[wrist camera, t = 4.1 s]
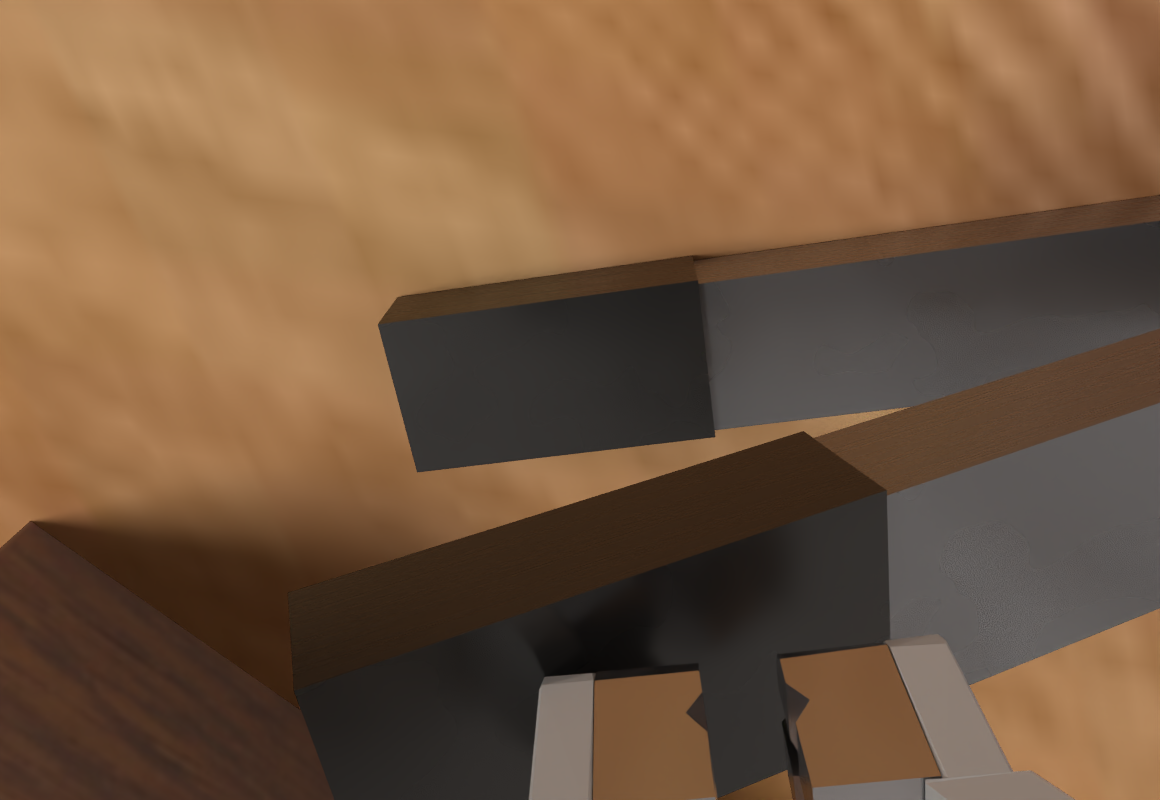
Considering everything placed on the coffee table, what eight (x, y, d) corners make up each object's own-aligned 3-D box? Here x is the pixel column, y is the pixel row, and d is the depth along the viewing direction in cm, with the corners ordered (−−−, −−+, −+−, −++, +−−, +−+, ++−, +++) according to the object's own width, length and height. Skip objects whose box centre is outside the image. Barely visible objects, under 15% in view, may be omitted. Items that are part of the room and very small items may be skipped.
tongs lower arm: (1988, 73, 16) (2148, 85, 14) (1906, 255, 17) (2043, 285, 15) (397, 297, 19) (375, 328, 17) (432, 435, 20) (414, 477, 18)
